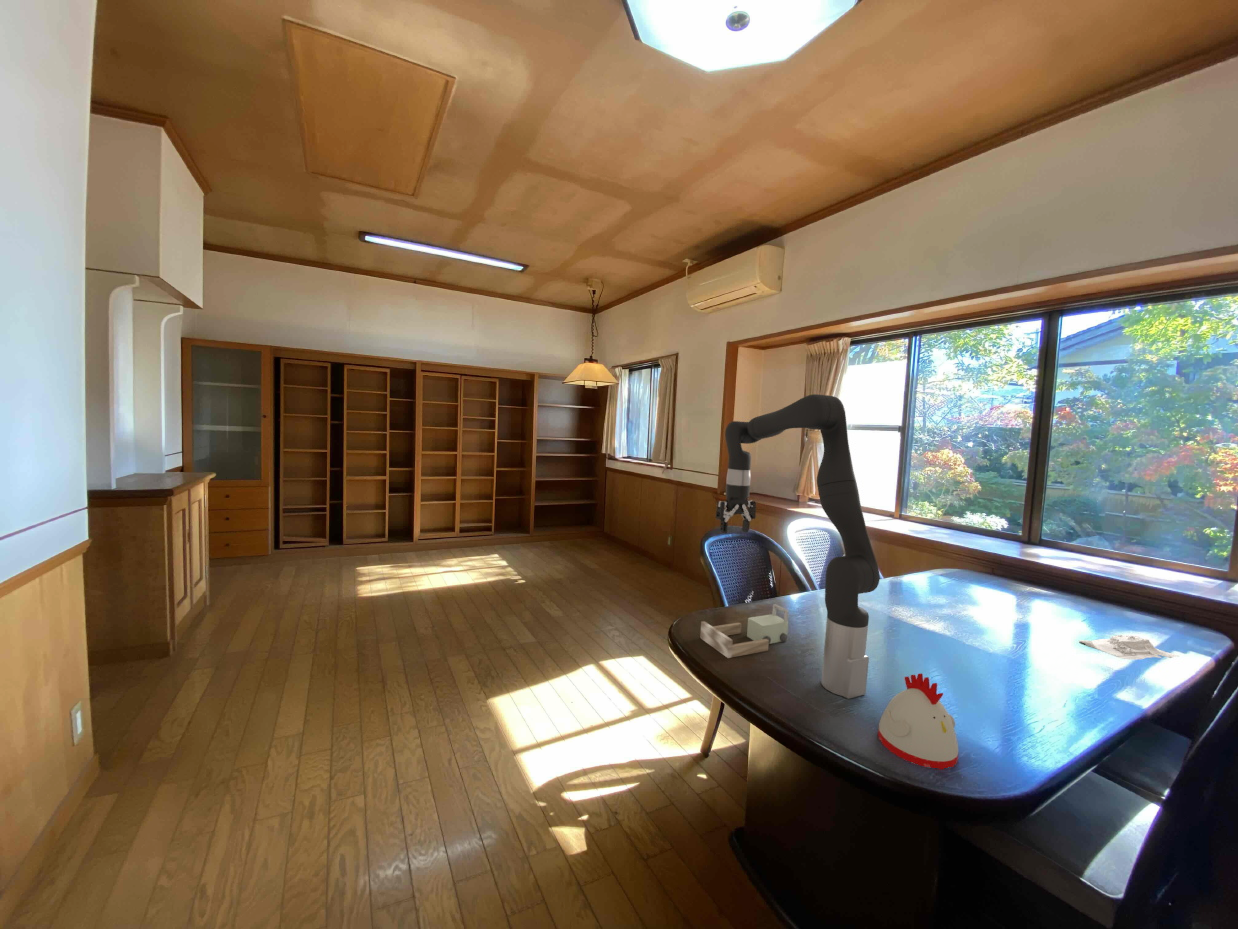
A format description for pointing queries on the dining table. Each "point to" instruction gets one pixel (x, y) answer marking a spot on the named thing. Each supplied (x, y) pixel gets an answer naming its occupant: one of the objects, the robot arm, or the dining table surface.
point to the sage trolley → (769, 627)
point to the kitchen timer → (919, 726)
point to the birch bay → (730, 640)
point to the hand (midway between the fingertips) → (734, 532)
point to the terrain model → (1127, 647)
